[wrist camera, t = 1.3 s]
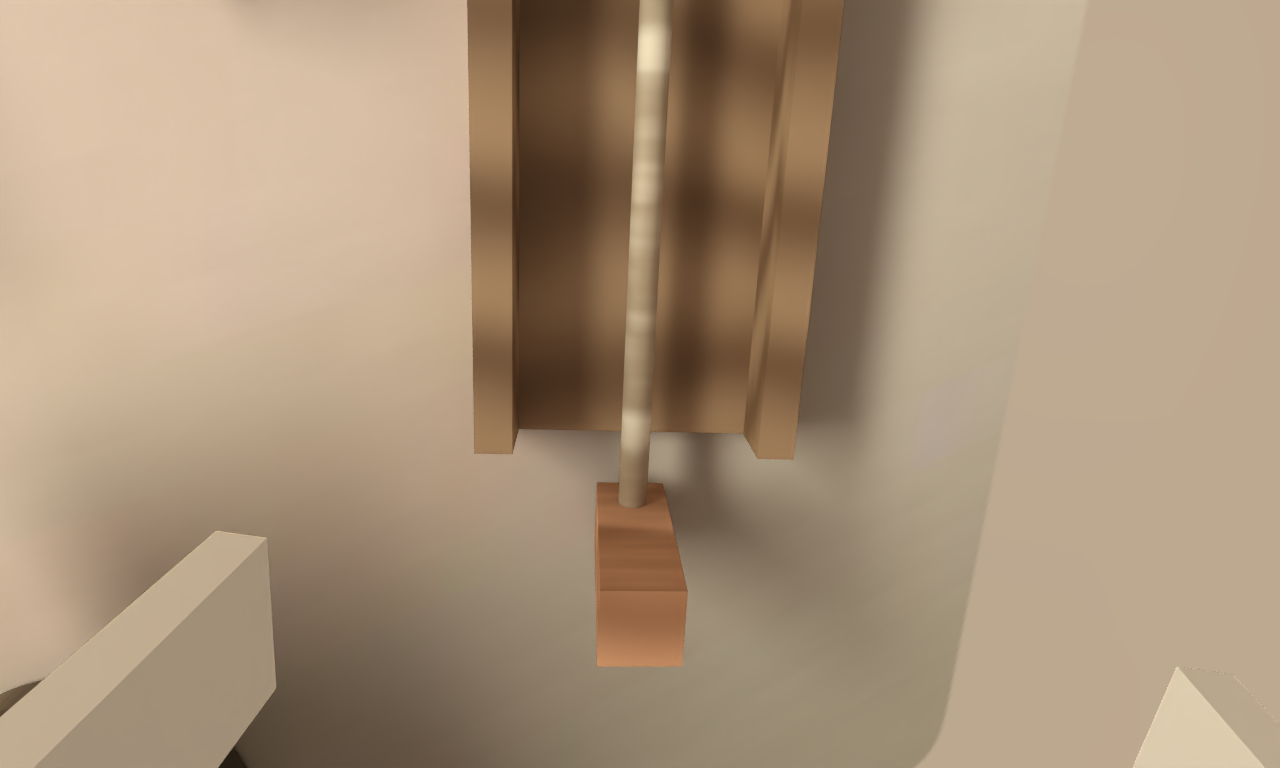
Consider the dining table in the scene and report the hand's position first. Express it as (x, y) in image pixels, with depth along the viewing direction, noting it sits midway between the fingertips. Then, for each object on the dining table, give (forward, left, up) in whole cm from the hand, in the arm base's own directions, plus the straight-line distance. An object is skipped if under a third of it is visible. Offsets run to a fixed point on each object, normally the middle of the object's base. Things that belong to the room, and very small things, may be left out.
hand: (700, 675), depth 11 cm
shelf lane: (+12, 0, -23) cm, 26 cm away
